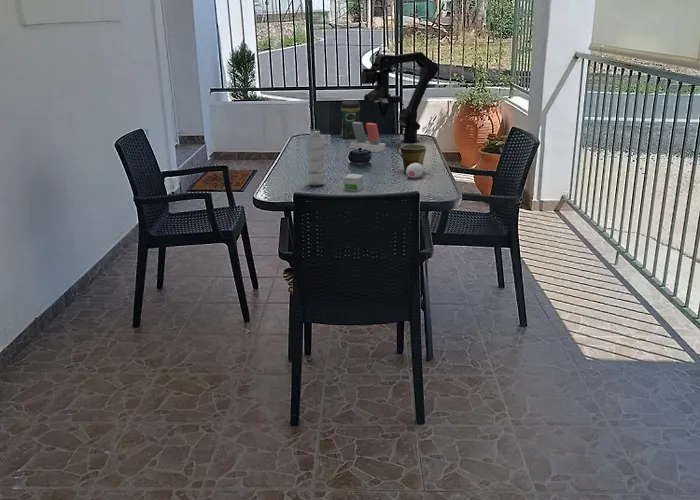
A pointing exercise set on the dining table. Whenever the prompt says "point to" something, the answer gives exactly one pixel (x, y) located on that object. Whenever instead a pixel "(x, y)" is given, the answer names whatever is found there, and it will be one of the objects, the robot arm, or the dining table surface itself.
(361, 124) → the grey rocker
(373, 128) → the upright red slab
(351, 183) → the small box
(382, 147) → the shallow grey tray
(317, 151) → the plastic bottle
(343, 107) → the coffee jar
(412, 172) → the stress ball
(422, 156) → the ceramic cup
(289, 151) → the dining table surface
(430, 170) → the dining table surface
